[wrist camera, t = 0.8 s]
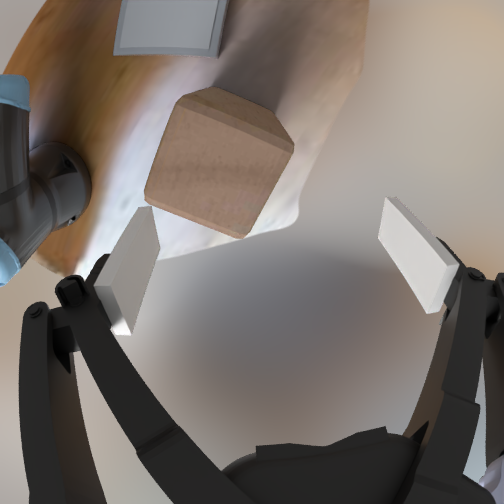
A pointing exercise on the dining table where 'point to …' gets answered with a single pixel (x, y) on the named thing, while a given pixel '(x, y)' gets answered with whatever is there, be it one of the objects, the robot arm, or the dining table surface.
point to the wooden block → (218, 161)
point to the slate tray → (170, 27)
